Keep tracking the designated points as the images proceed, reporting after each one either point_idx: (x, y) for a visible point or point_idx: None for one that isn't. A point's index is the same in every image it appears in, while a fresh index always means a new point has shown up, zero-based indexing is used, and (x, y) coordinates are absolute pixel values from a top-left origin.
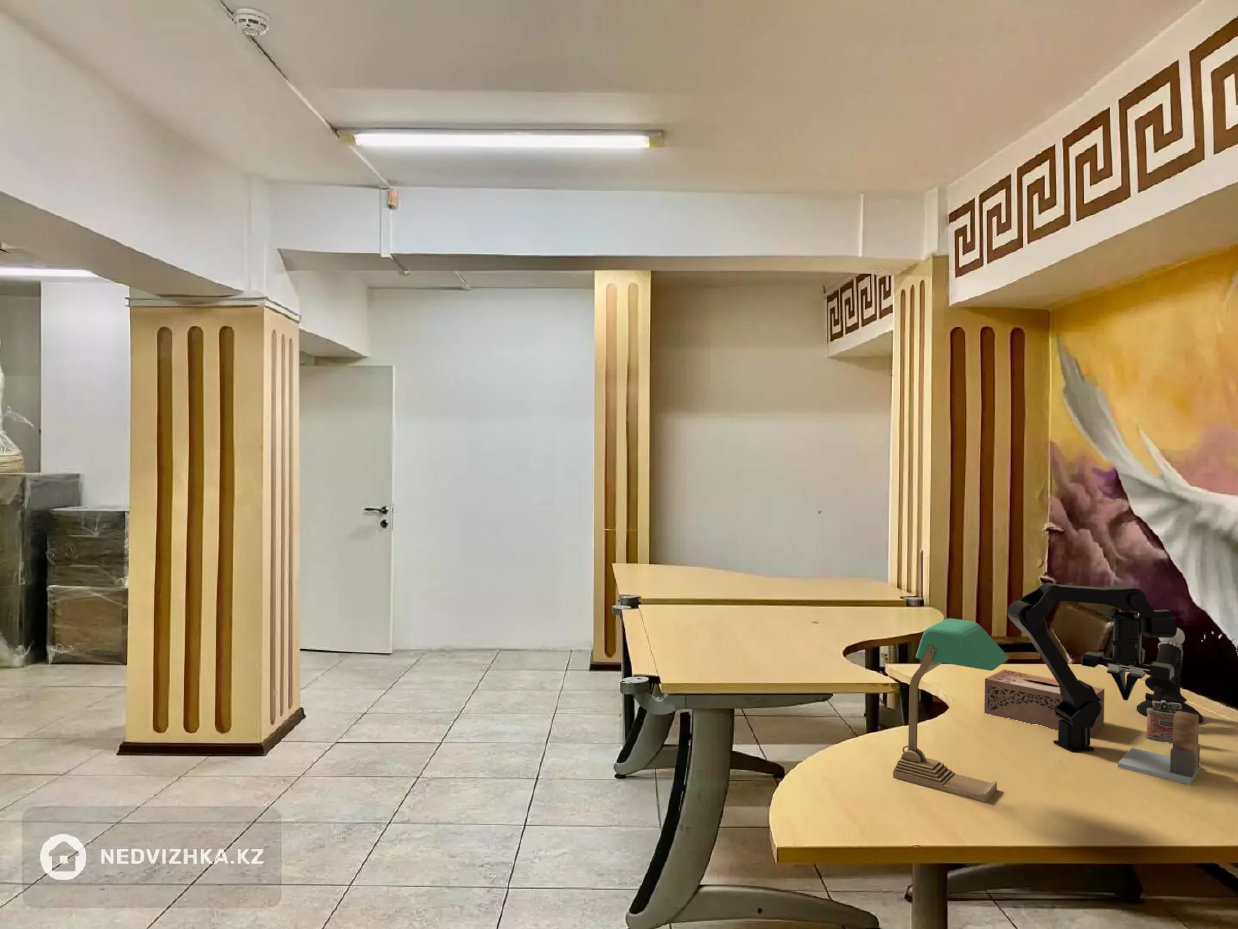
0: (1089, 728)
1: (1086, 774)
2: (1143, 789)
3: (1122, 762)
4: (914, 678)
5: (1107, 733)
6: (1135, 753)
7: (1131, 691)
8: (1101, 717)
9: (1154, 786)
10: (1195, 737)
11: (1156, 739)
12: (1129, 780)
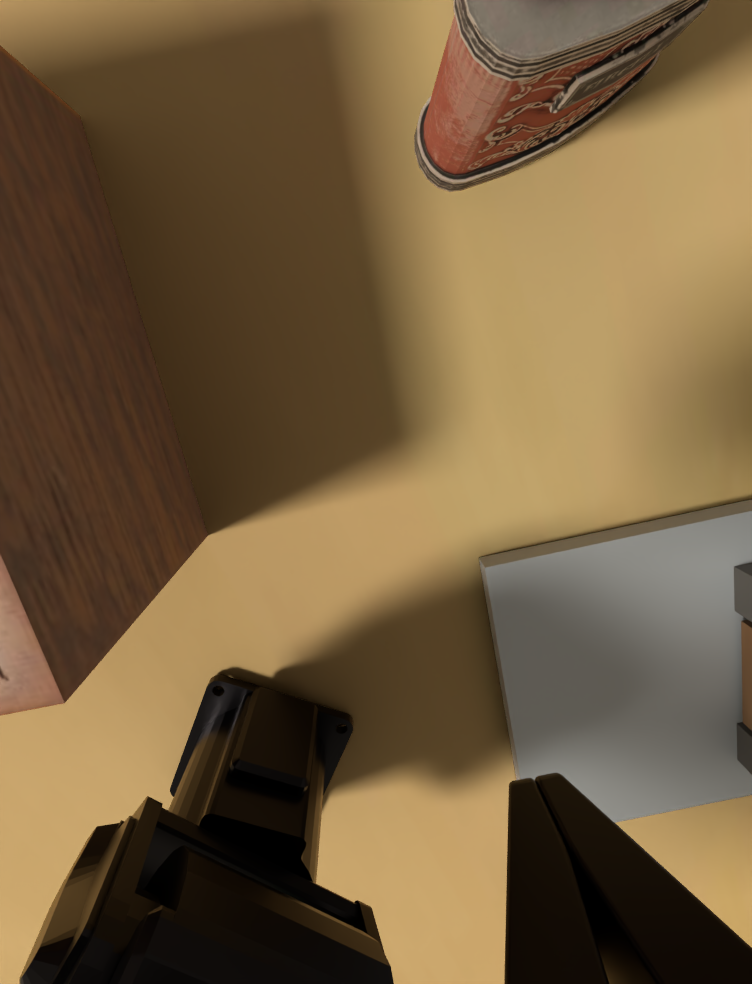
0: (301, 789)
1: (474, 974)
2: None
3: None
4: None
5: (219, 327)
6: (536, 648)
7: (680, 889)
8: (59, 168)
9: (698, 882)
10: None
11: (497, 175)
12: None
